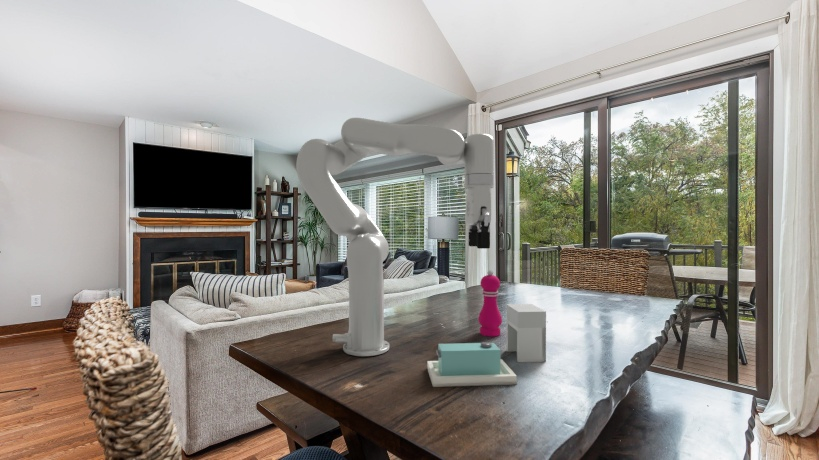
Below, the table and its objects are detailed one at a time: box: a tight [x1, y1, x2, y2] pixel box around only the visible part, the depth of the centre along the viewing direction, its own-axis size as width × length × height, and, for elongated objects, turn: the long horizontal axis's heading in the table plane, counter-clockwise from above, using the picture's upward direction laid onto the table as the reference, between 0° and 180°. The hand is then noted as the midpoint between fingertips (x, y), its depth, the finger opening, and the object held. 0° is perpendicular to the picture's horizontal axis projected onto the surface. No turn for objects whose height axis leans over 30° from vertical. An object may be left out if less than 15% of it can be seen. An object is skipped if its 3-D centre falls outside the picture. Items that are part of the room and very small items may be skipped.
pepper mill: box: [478, 269, 503, 338], centre depth 116 cm, size 7×7×20 cm
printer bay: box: [505, 303, 547, 363], centre depth 97 cm, size 7×9×12 cm
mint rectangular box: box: [435, 341, 501, 376], centre depth 83 cm, size 14×5×7 cm, turn 94°
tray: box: [426, 358, 518, 388], centre depth 83 cm, size 18×10×2 cm, turn 94°
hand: (478, 247), depth 98 cm, fingers open, 9 cm apart
